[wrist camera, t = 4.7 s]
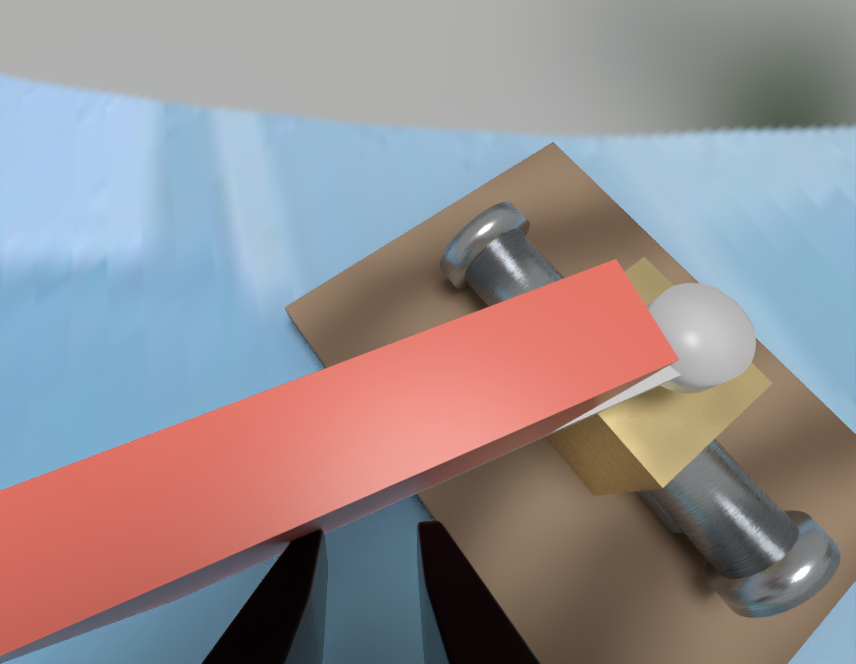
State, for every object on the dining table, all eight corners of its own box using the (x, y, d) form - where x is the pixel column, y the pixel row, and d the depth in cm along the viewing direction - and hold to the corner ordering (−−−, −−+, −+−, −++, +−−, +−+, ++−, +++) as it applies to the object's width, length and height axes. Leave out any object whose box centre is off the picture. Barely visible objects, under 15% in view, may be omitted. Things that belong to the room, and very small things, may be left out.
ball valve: (781, 523, 19) (961, 525, 13) (695, 617, 17) (850, 669, 11) (513, 234, 23) (553, 133, 17) (425, 292, 21) (435, 205, 15)
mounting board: (887, 500, 21) (922, 499, 19) (633, 799, 16) (654, 825, 15) (544, 161, 26) (553, 142, 25) (291, 320, 22) (284, 307, 21)
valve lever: (690, 288, 14) (917, 109, 8) (746, 371, 14) (1049, 243, 7) (169, 499, 12) (-112, 477, 5) (196, 622, 11) (-99, 773, 4)
